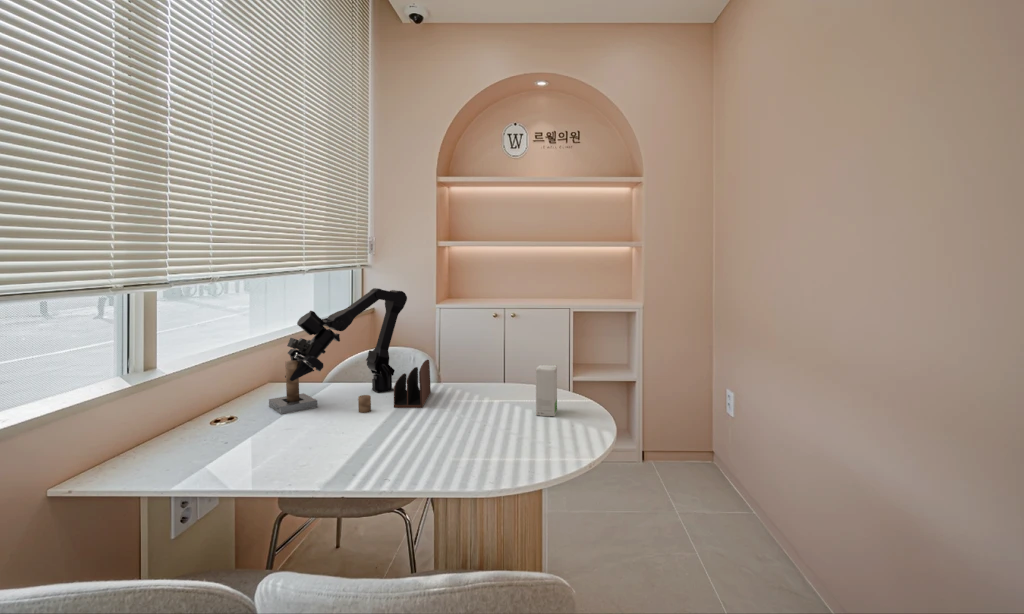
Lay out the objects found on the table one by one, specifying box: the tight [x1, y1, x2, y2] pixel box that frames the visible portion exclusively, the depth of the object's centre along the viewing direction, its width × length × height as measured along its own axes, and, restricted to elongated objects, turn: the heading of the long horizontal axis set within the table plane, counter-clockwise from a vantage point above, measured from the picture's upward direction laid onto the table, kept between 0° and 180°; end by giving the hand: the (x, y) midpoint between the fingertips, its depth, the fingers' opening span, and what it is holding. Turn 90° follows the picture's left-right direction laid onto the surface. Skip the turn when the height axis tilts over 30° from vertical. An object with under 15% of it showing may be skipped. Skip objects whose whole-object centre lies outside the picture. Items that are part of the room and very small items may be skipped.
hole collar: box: [268, 392, 318, 415], centre depth 179 cm, size 12×12×2 cm
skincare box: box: [535, 364, 558, 417], centre depth 173 cm, size 8×7×16 cm
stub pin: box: [357, 394, 372, 414], centre depth 175 cm, size 4×4×5 cm
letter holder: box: [393, 359, 432, 409], centre depth 188 cm, size 10×20×14 cm, turn 1°
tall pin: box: [285, 359, 300, 402], centre depth 178 cm, size 4×4×14 cm
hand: (288, 379), depth 177 cm, fingers closed on tall pin, 4 cm apart
